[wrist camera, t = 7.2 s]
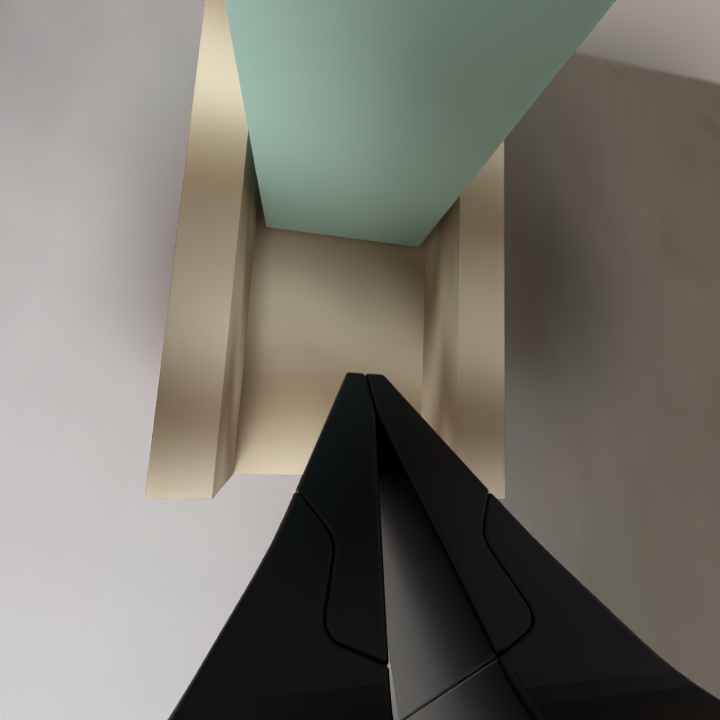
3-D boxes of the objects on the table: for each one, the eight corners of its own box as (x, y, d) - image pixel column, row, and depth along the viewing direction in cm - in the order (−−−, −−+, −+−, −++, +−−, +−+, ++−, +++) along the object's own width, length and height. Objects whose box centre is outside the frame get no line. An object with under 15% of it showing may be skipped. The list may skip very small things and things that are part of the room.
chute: (447, 470, 14) (504, 498, 10) (193, 467, 12) (144, 499, 8) (454, 106, 16) (503, 13, 12) (236, 59, 14) (213, -67, 11)
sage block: (418, 247, 14) (717, -127, 4) (266, 227, 13) (160, -347, 3) (422, 114, 14) (682, -480, 5) (278, 84, 13) (228, -760, 4)
